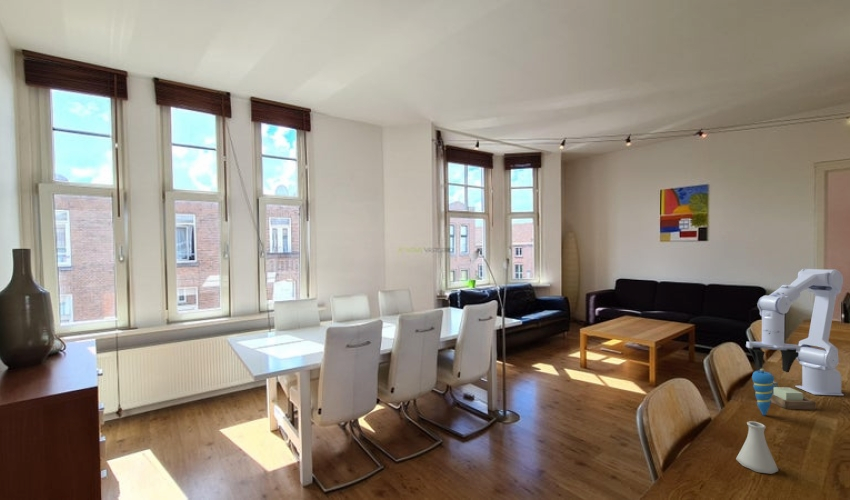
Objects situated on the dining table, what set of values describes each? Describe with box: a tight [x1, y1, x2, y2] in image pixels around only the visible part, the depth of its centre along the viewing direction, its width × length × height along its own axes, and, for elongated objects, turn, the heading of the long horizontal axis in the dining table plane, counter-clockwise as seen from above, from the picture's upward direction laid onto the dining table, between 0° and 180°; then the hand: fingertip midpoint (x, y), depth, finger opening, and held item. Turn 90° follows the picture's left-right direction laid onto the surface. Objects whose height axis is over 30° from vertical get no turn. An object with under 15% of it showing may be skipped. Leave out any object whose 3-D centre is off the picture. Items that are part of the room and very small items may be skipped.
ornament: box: [751, 368, 775, 416], centre depth 116 cm, size 5×5×15 cm
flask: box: [735, 421, 779, 475], centre depth 90 cm, size 7×7×10 cm
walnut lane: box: [771, 394, 817, 410], centre depth 124 cm, size 8×9×2 cm
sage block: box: [772, 380, 804, 401], centre depth 128 cm, size 10×5×5 cm, turn 175°
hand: (772, 370), depth 129 cm, fingers open, 7 cm apart
